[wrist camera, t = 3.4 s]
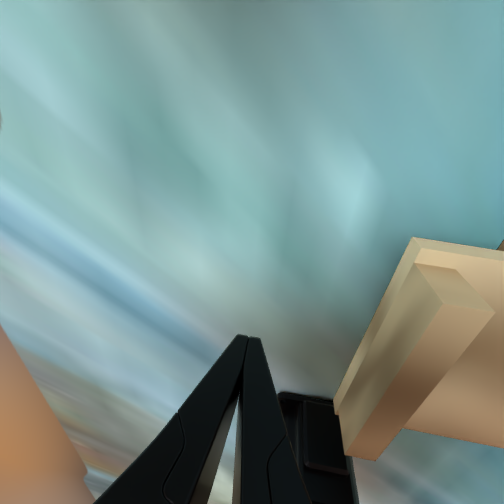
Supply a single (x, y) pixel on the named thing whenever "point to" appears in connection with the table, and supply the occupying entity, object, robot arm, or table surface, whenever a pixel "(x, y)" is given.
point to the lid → (430, 353)
